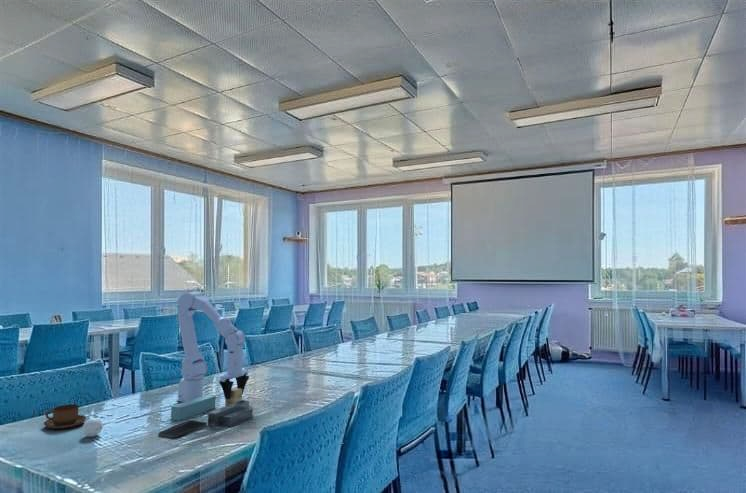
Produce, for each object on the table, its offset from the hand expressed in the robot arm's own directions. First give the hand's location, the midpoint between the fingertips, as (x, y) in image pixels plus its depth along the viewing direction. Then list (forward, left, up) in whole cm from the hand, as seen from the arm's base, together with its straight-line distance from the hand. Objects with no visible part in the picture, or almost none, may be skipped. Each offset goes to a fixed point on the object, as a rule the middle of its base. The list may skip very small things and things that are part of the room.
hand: (234, 396), depth 191 cm
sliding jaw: (-5, -16, -3) cm, 17 cm away
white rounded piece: (-15, -48, -3) cm, 50 cm away
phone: (+6, -32, -4) cm, 33 cm away
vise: (+13, -16, -3) cm, 21 cm away
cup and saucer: (-33, -46, -4) cm, 57 cm away
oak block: (0, 0, -3) cm, 3 cm away
